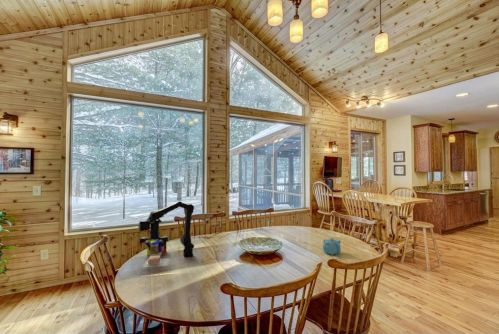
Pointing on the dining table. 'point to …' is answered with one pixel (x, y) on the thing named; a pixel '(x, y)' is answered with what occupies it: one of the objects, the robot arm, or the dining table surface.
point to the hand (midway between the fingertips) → (154, 251)
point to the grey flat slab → (162, 263)
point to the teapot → (331, 246)
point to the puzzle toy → (161, 250)
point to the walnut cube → (154, 249)
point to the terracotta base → (154, 259)
